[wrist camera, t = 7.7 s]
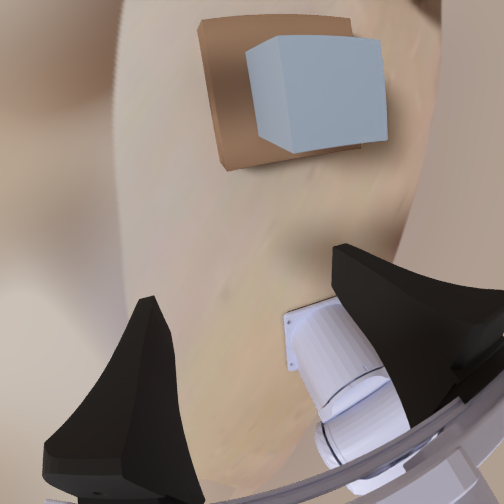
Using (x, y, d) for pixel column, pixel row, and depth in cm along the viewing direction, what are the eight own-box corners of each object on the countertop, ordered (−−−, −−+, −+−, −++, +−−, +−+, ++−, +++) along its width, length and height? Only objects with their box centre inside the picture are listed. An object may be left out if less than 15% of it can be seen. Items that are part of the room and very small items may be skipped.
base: (338, 139, 20) (361, 148, 18) (218, 160, 19) (227, 171, 16) (326, 25, 15) (350, 18, 13) (196, 31, 14) (201, 20, 11)
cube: (335, 124, 16) (387, 140, 12) (258, 136, 16) (293, 153, 11) (327, 48, 14) (380, 39, 9) (245, 52, 13) (277, 35, 9)
